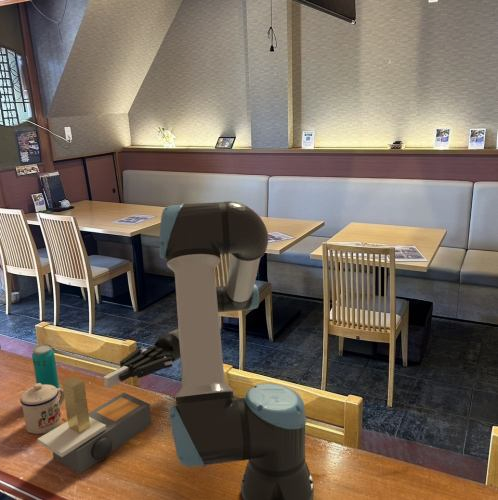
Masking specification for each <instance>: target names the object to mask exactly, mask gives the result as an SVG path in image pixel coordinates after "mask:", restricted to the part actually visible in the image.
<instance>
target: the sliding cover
mask: <svg viewBox="0 0 498 500" xmlns="http://www.w3.org/2000/svg"><path fill="white" fill-rule="evenodd" d="M61 383H62V385H61V386H62V389H63V392H64V404H65V411H66V417H67V421H65V422H64V423H62V424H61V425H60V424H59V425H58V426H57V427H56V428H55V429H53V430H51V431H49V432H46V433H44V435H42V436H40V437H38V438H37V443H38V444H40V445H41V446H43V447H44V448H46V449H48V450H49V451H50V452H52V453H53V452H54V453H56V454H57V455H59V456H60V457H63V456H65V455H66V454H68V453H69V452H71V451H73V450H74V449H76V448H77V447H79V446H80V445H82V444H83V443H85V442H87V441H88V440H90V439H91V438H93V437H94V436H96V435H98V434H99V433H101V432H102V431H104V430H105V429H106V425H105V424H103V423H101V422H99V421H97V420H95V419H93V418H91V417H89V407H88V399H87V393H86V386H85V380H83V379H80V378H78V377H76V376H70V377H68V378H66V379H65V380H63V381H62V382H61Z"/></svg>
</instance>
